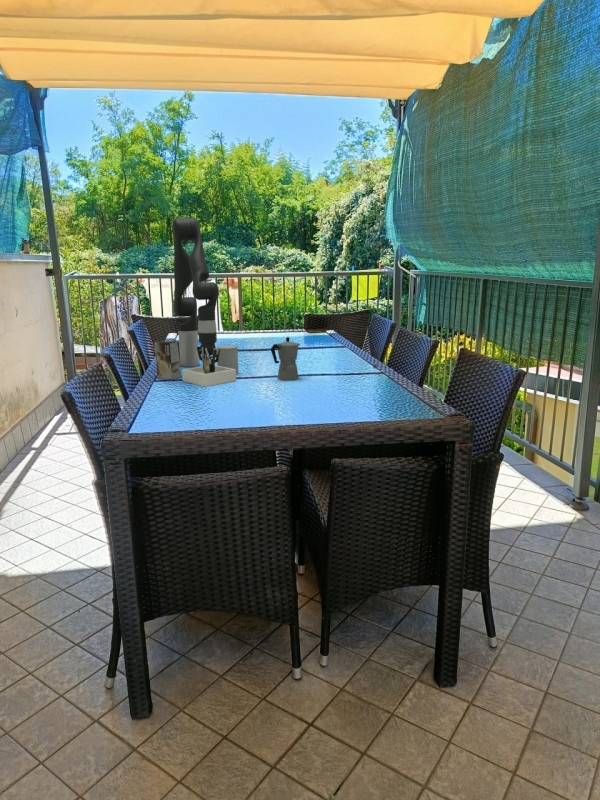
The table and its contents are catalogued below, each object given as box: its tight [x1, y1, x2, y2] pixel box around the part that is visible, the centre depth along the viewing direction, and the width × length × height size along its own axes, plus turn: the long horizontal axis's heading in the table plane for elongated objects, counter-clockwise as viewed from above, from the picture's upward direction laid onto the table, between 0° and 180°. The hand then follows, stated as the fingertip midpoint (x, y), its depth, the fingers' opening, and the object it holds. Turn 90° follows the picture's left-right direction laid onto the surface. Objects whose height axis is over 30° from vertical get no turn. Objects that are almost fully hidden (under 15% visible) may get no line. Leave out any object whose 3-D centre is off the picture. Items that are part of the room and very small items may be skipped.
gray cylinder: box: [216, 344, 239, 376], centre depth 250 cm, size 10×10×12 cm
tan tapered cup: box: [204, 358, 214, 374], centre depth 233 cm, size 4×4×6 cm
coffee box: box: [154, 339, 182, 380], centre depth 240 cm, size 9×6×16 cm
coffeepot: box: [270, 336, 301, 382], centre depth 236 cm, size 15×9×18 cm, turn 129°
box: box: [182, 364, 237, 388], centre depth 234 cm, size 16×16×5 cm
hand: (209, 371), depth 234 cm, fingers closed on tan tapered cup, 4 cm apart
